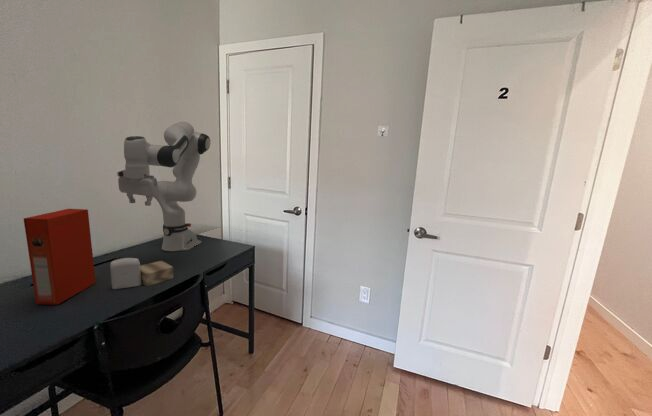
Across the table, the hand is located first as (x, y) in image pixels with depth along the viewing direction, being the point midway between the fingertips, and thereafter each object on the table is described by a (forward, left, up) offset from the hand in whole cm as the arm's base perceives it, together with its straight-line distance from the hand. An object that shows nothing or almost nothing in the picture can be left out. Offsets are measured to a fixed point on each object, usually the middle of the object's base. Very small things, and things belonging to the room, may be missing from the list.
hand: (140, 204), depth 127 cm
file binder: (+27, -7, -33) cm, 43 cm away
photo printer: (+14, +8, -33) cm, 36 cm away
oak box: (+4, +11, -33) cm, 35 cm away
